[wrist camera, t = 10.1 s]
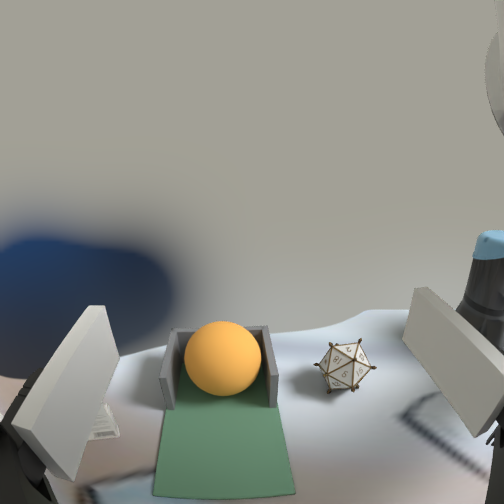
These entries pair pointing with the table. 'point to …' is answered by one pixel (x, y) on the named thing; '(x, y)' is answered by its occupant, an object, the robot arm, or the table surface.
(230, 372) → the ball
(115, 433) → the ink cartridge box
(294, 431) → the table surface
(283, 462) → the pitch
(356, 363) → the game die
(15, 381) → the table surface
